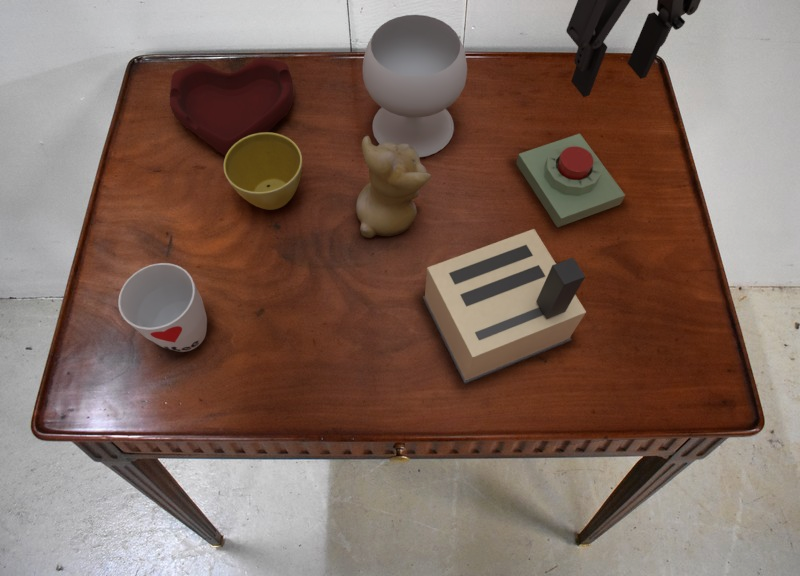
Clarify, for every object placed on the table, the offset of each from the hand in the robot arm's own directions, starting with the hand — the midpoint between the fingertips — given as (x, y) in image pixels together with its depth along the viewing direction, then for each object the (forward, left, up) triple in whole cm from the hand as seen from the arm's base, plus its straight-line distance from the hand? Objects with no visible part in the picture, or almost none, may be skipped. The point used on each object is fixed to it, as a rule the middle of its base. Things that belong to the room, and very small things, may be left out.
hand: (608, 78), depth 67 cm
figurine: (+4, +25, -19) cm, 32 cm away
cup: (-2, +55, -19) cm, 58 cm away
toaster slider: (-19, +16, -11) cm, 27 cm away
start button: (0, 0, -15) cm, 15 cm away
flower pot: (+14, +39, -19) cm, 46 cm away
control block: (0, 0, -19) cm, 19 cm away
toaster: (-15, +19, -19) cm, 31 cm away
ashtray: (+29, +40, -19) cm, 53 cm away
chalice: (+18, +16, -19) cm, 31 cm away
